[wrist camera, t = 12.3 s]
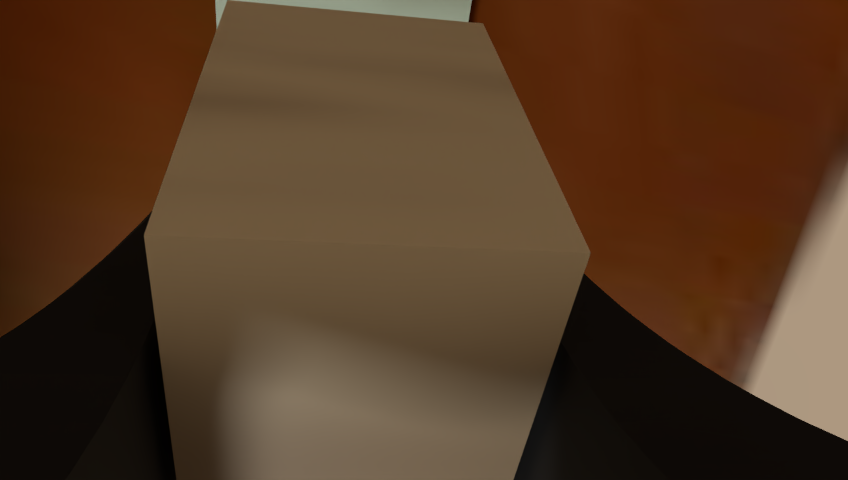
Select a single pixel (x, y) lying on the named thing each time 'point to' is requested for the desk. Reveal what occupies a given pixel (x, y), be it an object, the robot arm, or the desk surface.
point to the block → (356, 254)
